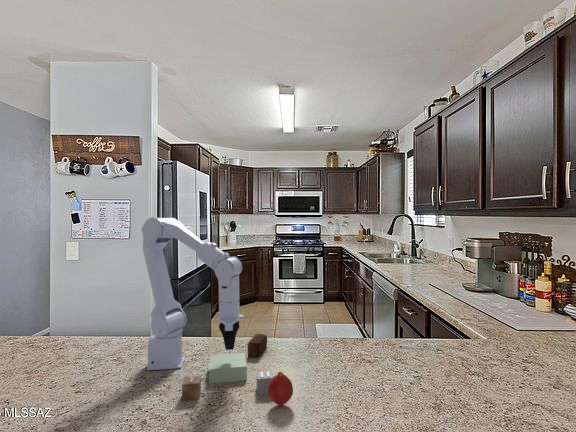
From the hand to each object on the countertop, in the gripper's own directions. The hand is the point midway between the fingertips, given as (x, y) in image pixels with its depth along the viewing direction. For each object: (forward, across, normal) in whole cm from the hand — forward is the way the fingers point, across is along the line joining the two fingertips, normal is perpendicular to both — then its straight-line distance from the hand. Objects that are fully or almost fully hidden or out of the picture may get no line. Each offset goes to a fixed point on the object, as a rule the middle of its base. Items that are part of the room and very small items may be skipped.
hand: (229, 348), depth 101 cm
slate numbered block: (+7, -12, -9) cm, 16 cm away
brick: (+7, +15, -9) cm, 19 cm away
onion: (+7, -20, -12) cm, 24 cm away
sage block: (+7, 0, +1) cm, 7 cm away
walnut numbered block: (+7, -12, +9) cm, 16 cm away
